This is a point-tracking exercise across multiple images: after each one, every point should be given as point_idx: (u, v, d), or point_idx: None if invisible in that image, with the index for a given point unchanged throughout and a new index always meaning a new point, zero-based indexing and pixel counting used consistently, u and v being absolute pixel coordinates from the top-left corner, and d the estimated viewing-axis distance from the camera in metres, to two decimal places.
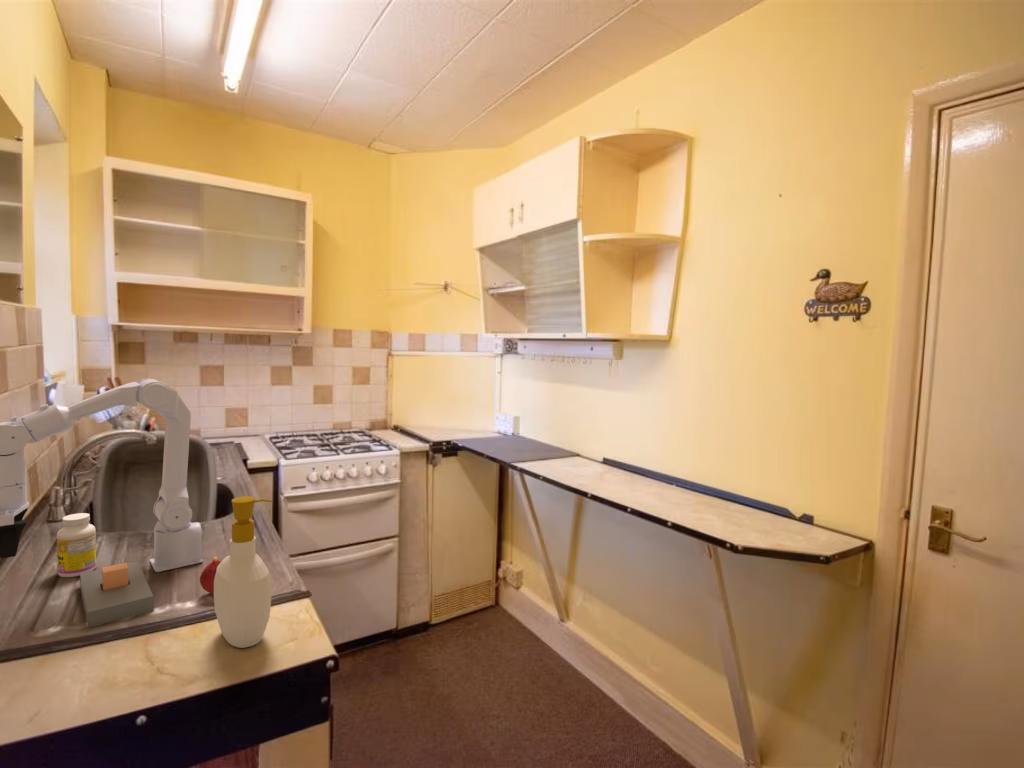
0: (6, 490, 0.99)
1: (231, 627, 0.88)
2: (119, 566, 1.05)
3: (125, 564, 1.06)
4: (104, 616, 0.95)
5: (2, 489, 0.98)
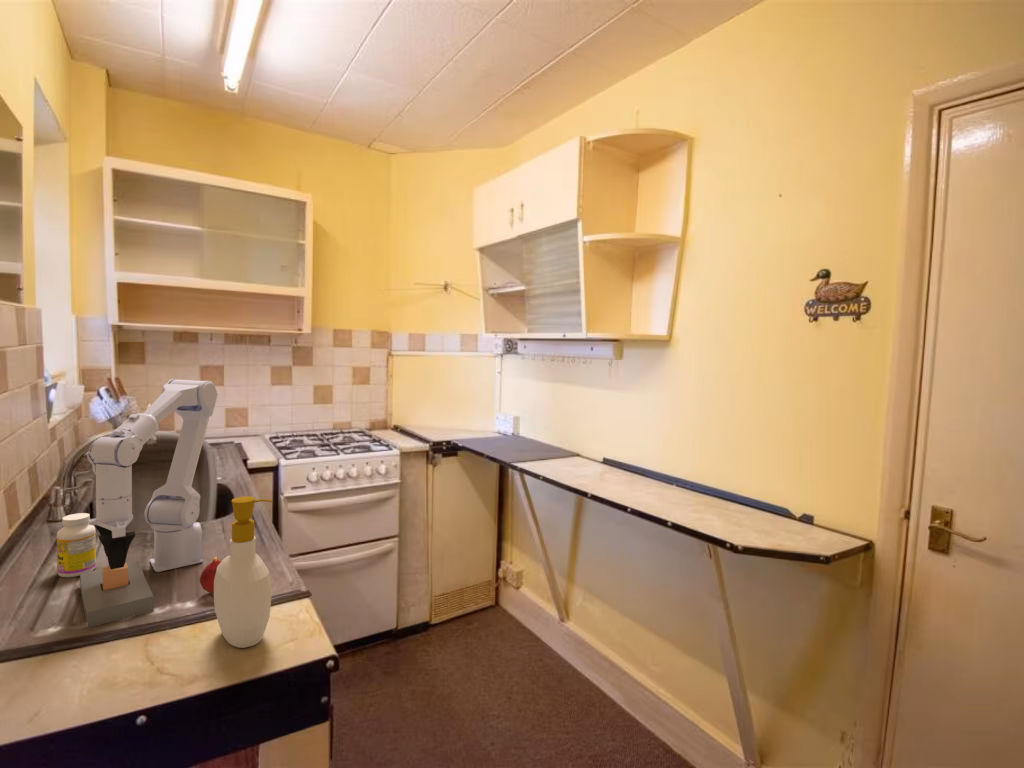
0: (116, 502, 1.01)
1: (231, 627, 0.88)
2: None
3: (125, 564, 1.06)
4: (104, 616, 0.95)
5: (112, 501, 1.01)
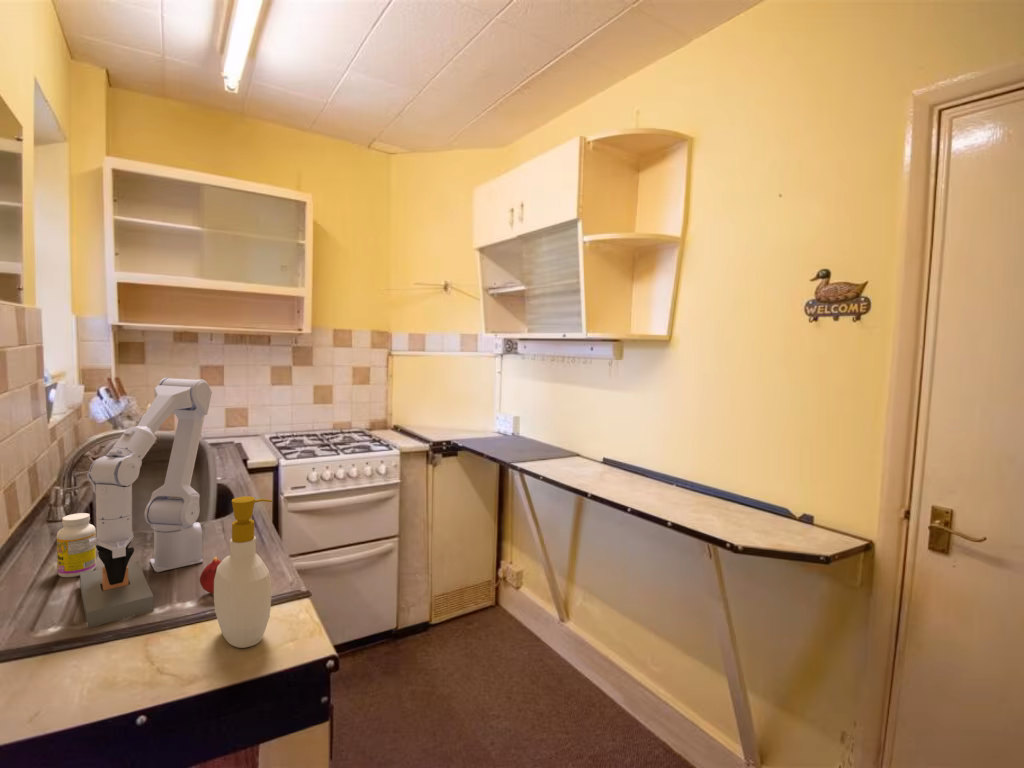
0: (116, 522, 1.01)
1: (231, 627, 0.88)
2: None
3: None
4: (104, 616, 0.95)
5: (112, 521, 1.01)
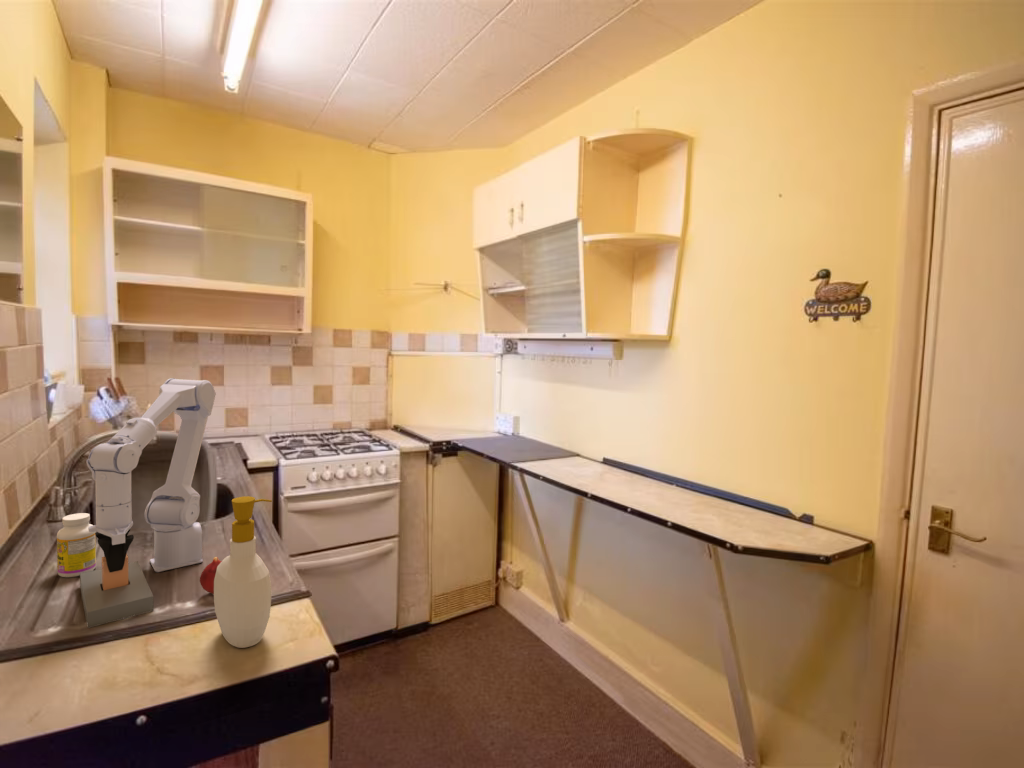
0: (116, 509, 1.01)
1: (231, 627, 0.88)
2: None
3: None
4: (104, 616, 0.95)
5: (112, 508, 1.01)
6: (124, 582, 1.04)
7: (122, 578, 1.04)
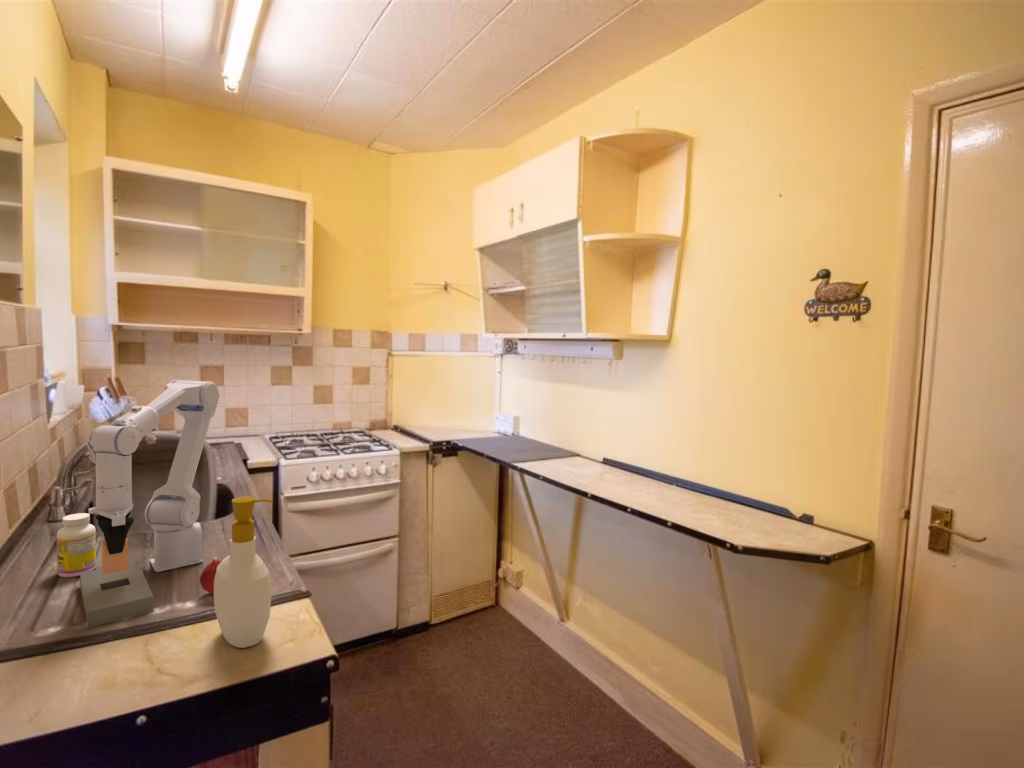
0: (116, 491, 1.01)
1: (231, 627, 0.88)
2: None
3: None
4: (104, 616, 0.95)
5: (112, 490, 1.00)
6: (124, 566, 1.04)
7: (122, 561, 1.04)
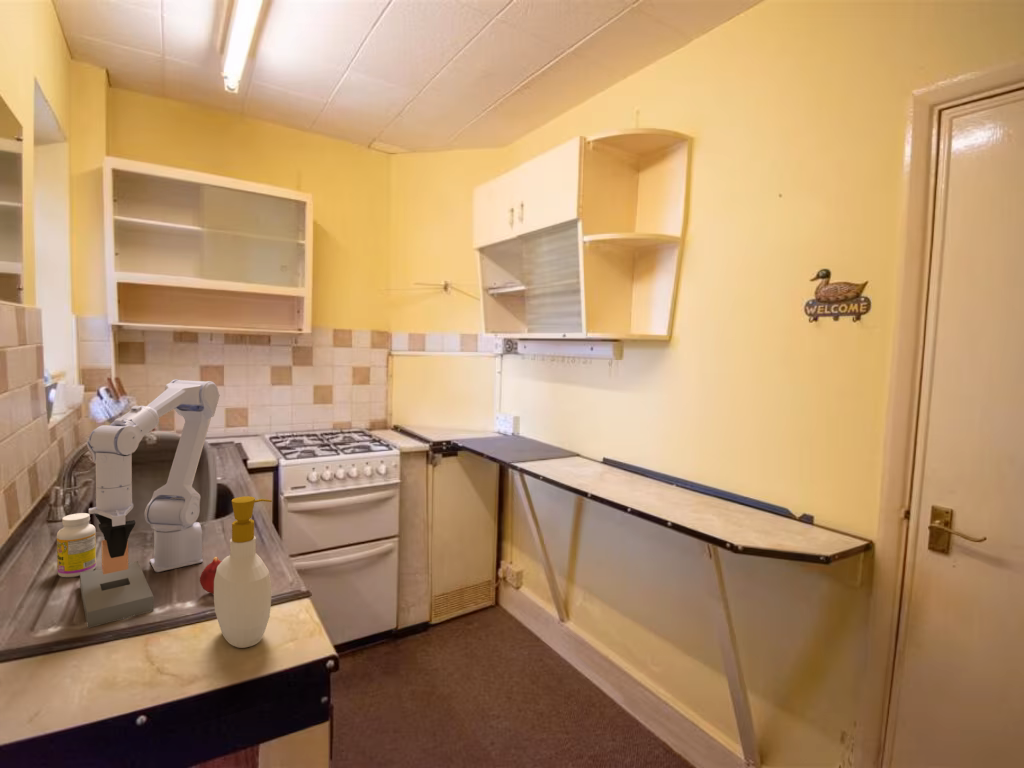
0: (116, 491, 1.01)
1: (231, 627, 0.88)
2: None
3: None
4: (104, 616, 0.95)
5: (112, 490, 1.00)
6: (124, 566, 1.04)
7: (122, 561, 1.04)
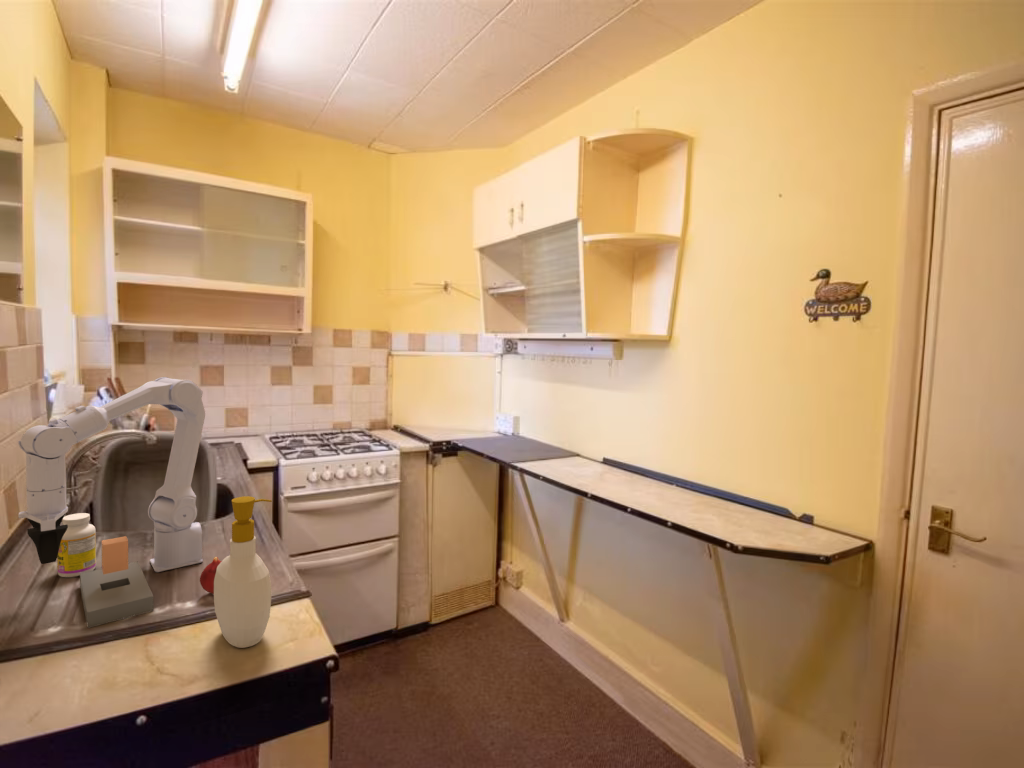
0: (47, 494, 0.97)
1: (231, 627, 0.88)
2: (118, 539, 1.04)
3: (125, 537, 1.05)
4: (104, 616, 0.95)
5: (43, 493, 0.96)
6: (124, 566, 1.04)
7: (122, 561, 1.04)
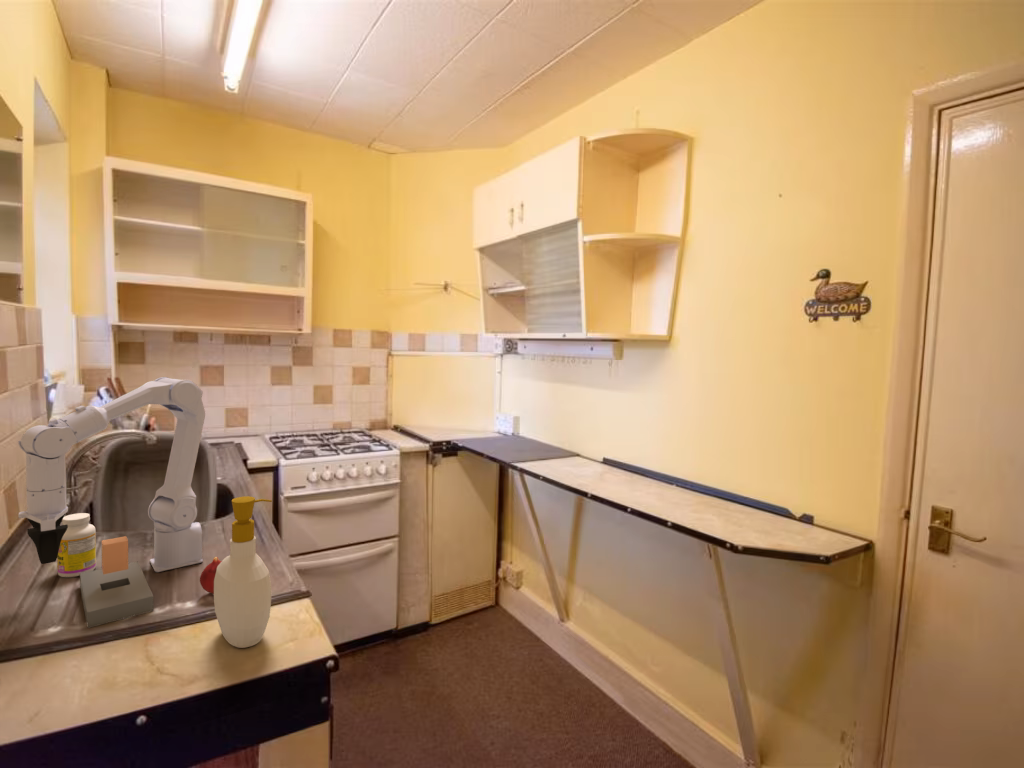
0: (47, 494, 0.97)
1: (231, 627, 0.88)
2: (118, 539, 1.04)
3: (125, 537, 1.05)
4: (104, 616, 0.95)
5: (43, 493, 0.96)
6: (124, 566, 1.04)
7: (122, 561, 1.04)
